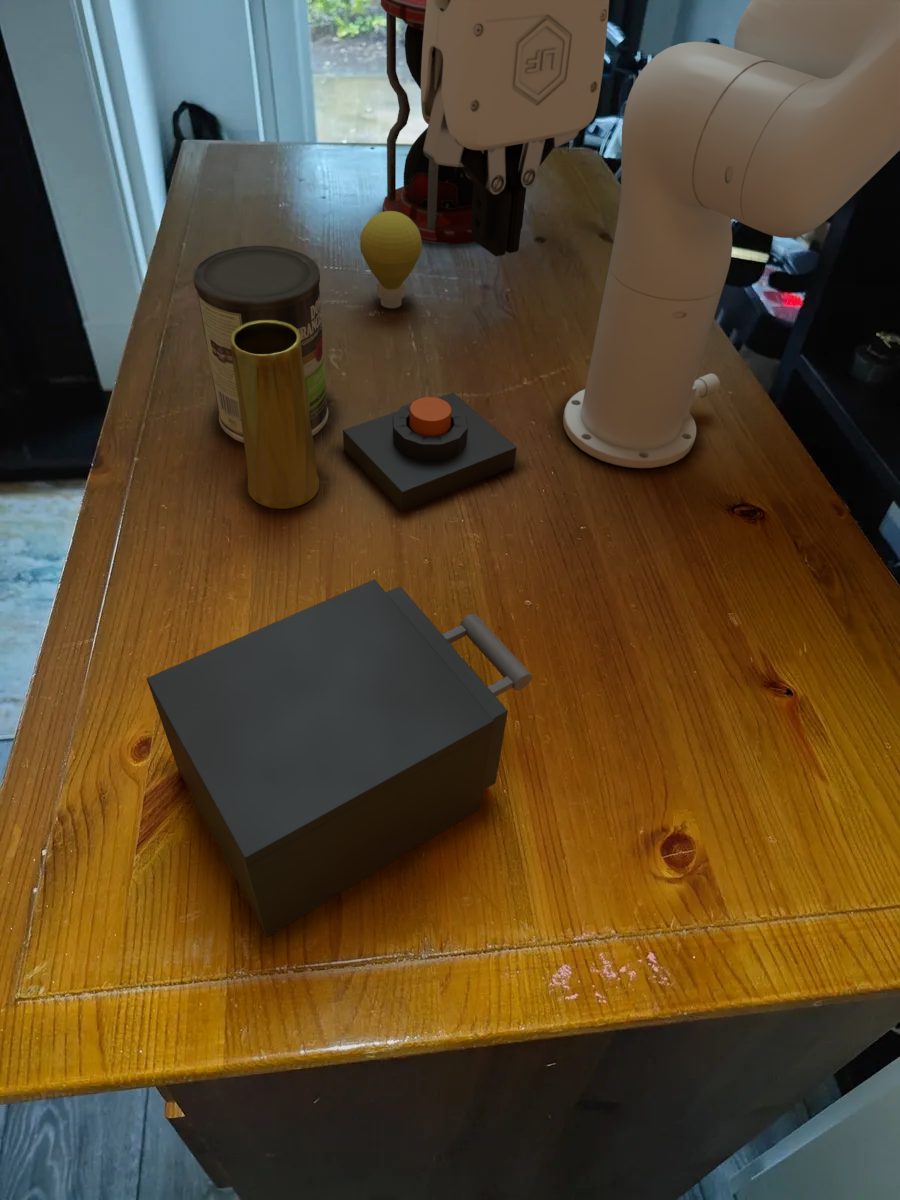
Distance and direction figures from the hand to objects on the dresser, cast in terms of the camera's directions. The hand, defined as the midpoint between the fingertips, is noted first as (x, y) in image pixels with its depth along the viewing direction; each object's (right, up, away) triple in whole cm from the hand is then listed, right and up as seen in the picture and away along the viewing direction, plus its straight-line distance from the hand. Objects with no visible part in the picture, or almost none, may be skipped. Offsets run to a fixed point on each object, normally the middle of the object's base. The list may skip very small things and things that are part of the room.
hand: (494, 245), depth 56 cm
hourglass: (-4, +27, +56) cm, 63 cm away
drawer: (-7, -33, -2) cm, 34 cm away
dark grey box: (-11, -35, -3) cm, 37 cm away
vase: (-17, -14, +17) cm, 28 cm away
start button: (-5, -8, +18) cm, 21 cm away
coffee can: (-20, -6, +24) cm, 32 cm away
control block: (-5, -11, +21) cm, 24 cm away
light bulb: (-10, +10, +40) cm, 42 cm away
